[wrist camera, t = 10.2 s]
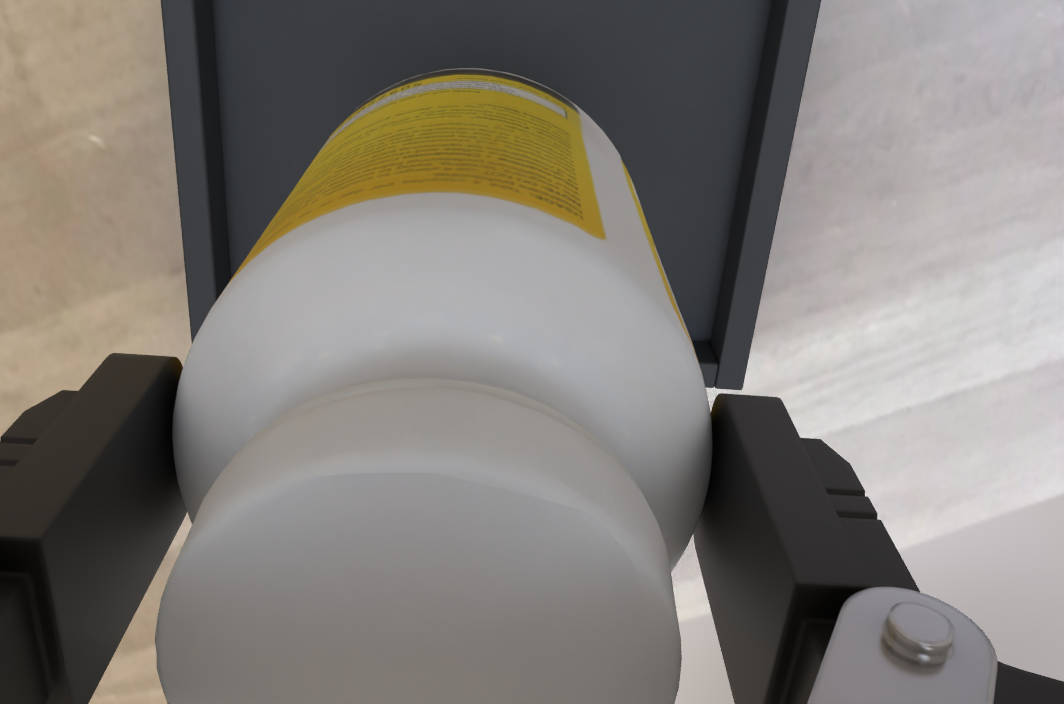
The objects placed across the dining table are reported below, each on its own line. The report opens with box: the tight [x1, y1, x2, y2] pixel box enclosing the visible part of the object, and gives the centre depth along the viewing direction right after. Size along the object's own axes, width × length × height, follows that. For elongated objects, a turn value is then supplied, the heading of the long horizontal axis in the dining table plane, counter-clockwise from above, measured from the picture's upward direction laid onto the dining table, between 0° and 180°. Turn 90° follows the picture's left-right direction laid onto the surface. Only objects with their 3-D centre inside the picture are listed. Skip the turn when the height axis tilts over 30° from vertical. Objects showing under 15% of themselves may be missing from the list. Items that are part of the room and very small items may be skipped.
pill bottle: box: [155, 68, 712, 704], centre depth 14 cm, size 6×6×12 cm
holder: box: [161, 0, 821, 390], centre depth 25 cm, size 16×13×2 cm
